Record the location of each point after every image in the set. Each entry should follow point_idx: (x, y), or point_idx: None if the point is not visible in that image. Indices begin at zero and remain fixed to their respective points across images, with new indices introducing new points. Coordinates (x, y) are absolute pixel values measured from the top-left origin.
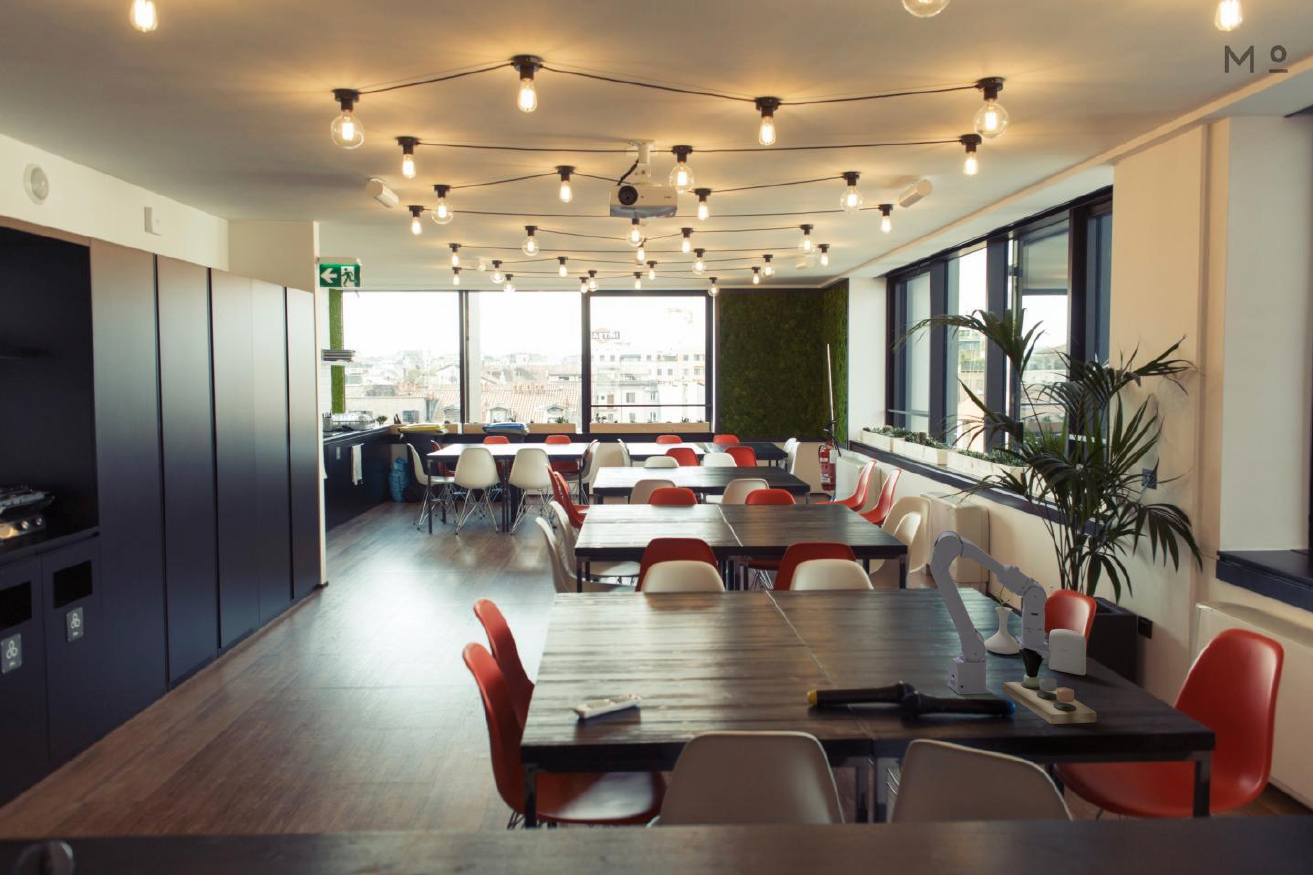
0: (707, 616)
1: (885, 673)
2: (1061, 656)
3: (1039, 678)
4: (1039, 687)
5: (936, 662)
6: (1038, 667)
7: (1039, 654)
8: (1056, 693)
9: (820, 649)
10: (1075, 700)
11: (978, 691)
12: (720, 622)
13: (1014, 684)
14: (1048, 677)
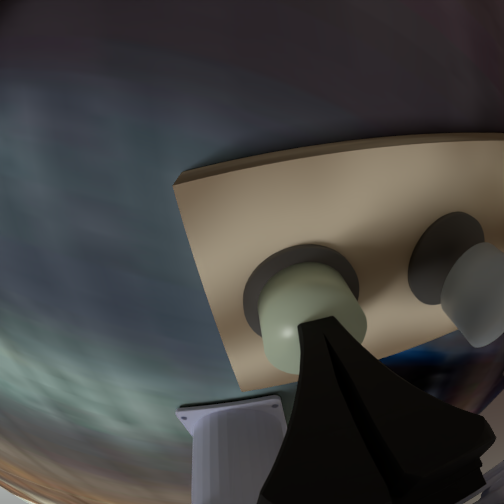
0: (37, 498)
1: (159, 489)
2: None
3: (352, 299)
4: (347, 270)
5: (29, 420)
6: (375, 365)
7: (502, 463)
8: (419, 195)
9: (78, 493)
10: (495, 145)
11: (281, 424)
12: (47, 500)
13: (268, 361)
14: (484, 302)
